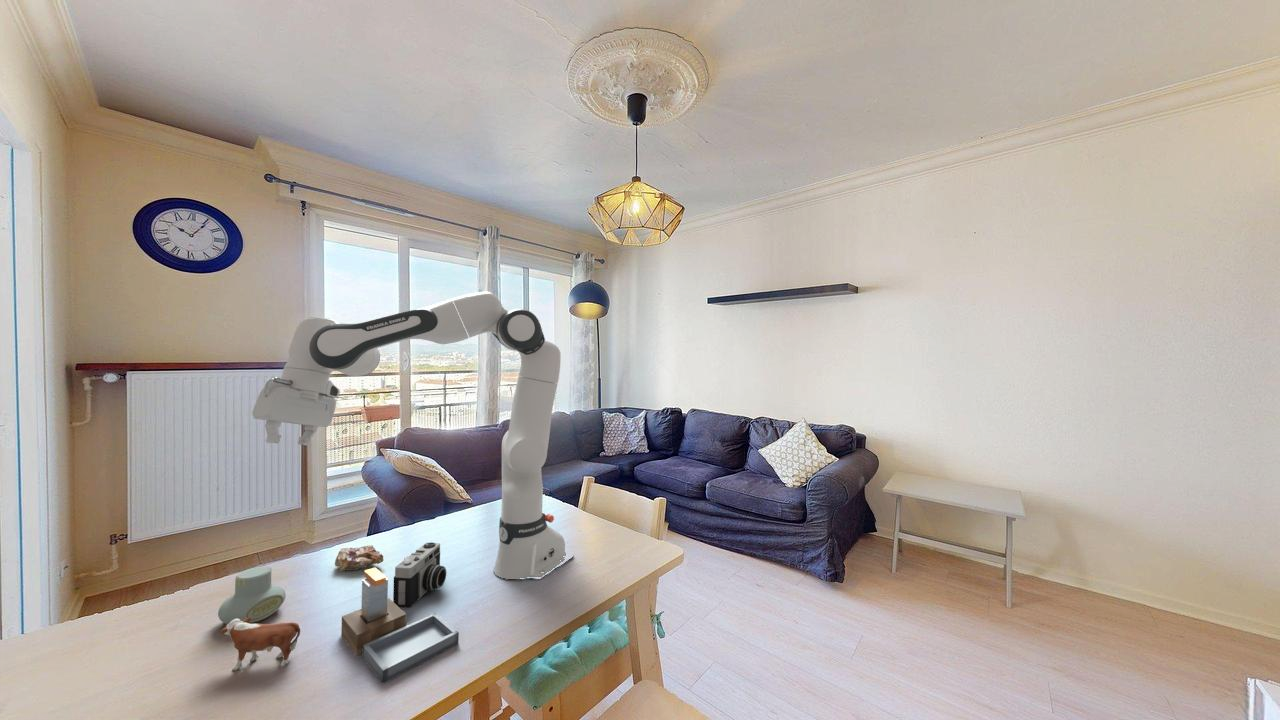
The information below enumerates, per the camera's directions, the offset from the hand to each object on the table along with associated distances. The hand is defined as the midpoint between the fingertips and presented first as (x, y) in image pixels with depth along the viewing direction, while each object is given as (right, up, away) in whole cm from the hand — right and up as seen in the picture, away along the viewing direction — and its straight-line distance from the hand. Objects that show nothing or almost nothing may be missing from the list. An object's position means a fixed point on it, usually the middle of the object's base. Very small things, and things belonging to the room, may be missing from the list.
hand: (288, 443), depth 96 cm
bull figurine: (+8, -38, -16) cm, 42 cm away
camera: (+26, -39, +8) cm, 48 cm away
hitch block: (+24, -38, -7) cm, 46 cm away
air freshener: (-6, -38, -3) cm, 38 cm away
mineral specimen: (+3, -38, +20) cm, 43 cm away
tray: (+35, -39, -12) cm, 53 cm away
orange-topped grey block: (+24, -38, -7) cm, 46 cm away
